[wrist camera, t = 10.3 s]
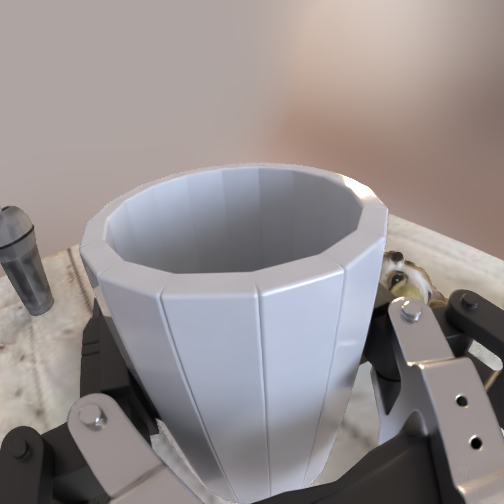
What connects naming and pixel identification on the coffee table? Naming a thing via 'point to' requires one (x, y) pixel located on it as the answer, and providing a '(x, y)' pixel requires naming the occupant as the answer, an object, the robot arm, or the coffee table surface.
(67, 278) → the coffee table surface
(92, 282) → the tumbler
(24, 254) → the beverage cup
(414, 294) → the ceramic sculpture
